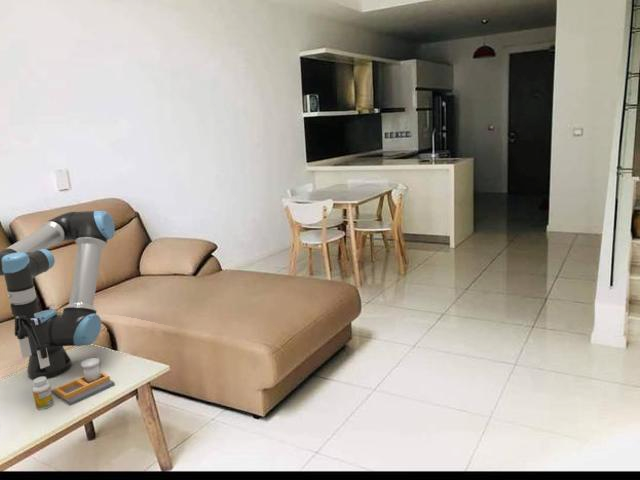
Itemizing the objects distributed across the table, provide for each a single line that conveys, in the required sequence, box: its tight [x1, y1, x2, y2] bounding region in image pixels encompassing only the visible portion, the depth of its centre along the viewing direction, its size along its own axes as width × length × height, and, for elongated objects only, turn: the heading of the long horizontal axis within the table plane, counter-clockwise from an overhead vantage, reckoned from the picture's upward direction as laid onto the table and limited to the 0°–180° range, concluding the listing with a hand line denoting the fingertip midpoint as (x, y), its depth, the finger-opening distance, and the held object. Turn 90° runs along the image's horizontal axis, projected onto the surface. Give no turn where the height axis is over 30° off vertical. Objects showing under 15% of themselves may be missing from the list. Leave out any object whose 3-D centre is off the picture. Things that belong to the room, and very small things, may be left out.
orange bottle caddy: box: [51, 357, 116, 406], centre depth 184 cm, size 14×16×9 cm
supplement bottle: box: [31, 377, 55, 410], centre depth 175 cm, size 5×5×10 cm
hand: (35, 361), depth 172 cm, fingers open, 13 cm apart
